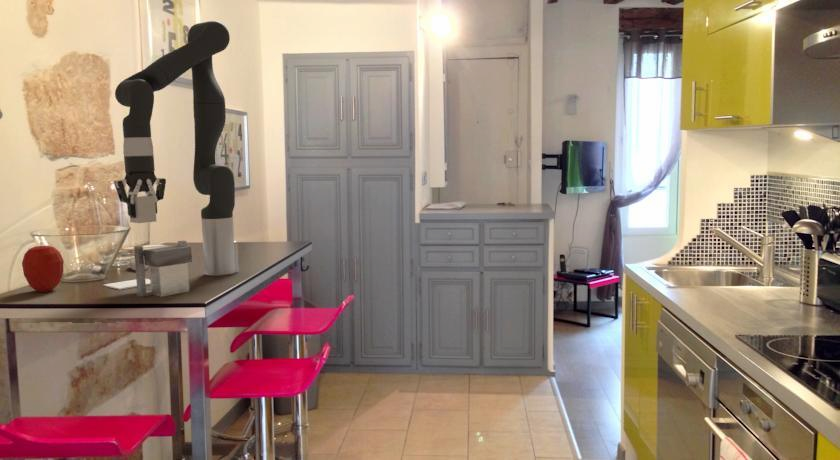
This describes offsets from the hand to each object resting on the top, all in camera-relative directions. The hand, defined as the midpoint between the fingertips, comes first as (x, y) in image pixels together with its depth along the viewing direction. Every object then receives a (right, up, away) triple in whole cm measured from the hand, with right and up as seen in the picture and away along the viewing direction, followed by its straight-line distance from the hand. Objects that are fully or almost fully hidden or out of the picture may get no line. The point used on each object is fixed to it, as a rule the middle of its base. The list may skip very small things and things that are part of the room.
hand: (143, 216), depth 192 cm
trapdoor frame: (+9, -20, -5) cm, 23 cm away
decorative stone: (-16, -17, +37) cm, 43 cm away
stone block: (0, -1, 0) cm, 1 cm away
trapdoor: (+5, -12, -3) cm, 13 cm away
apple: (-28, -21, +2) cm, 35 cm away
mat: (-6, -19, +8) cm, 22 cm away
